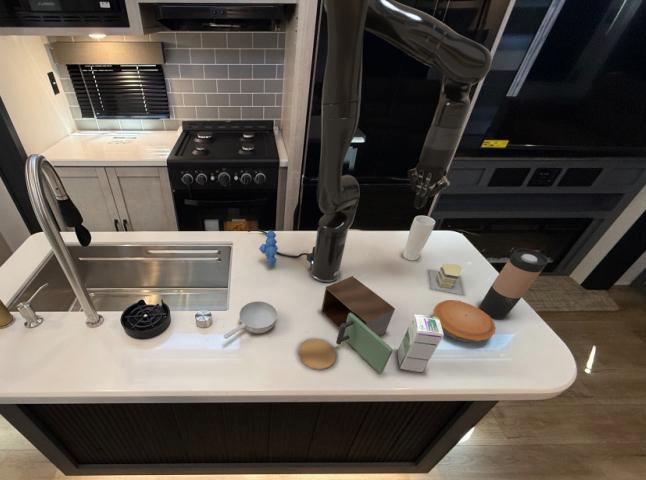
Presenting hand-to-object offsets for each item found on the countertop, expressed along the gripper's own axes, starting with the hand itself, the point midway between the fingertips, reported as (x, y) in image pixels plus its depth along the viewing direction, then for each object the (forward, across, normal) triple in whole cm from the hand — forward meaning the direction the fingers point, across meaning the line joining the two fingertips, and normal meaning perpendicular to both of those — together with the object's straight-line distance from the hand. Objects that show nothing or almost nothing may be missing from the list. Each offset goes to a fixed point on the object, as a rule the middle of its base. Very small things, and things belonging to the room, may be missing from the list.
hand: (418, 207), depth 93 cm
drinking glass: (+24, +4, -13) cm, 28 cm away
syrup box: (+25, -28, +26) cm, 46 cm away
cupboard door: (+24, -20, +37) cm, 49 cm away
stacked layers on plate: (+25, -12, -11) cm, 30 cm away
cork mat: (+24, -14, +45) cm, 53 cm away
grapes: (+24, +28, +35) cm, 50 cm away
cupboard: (+24, -10, +29) cm, 40 cm away
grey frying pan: (+24, +3, +56) cm, 61 cm away
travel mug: (+25, -28, -11) cm, 39 cm away
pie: (+25, -27, +4) cm, 37 cm away
